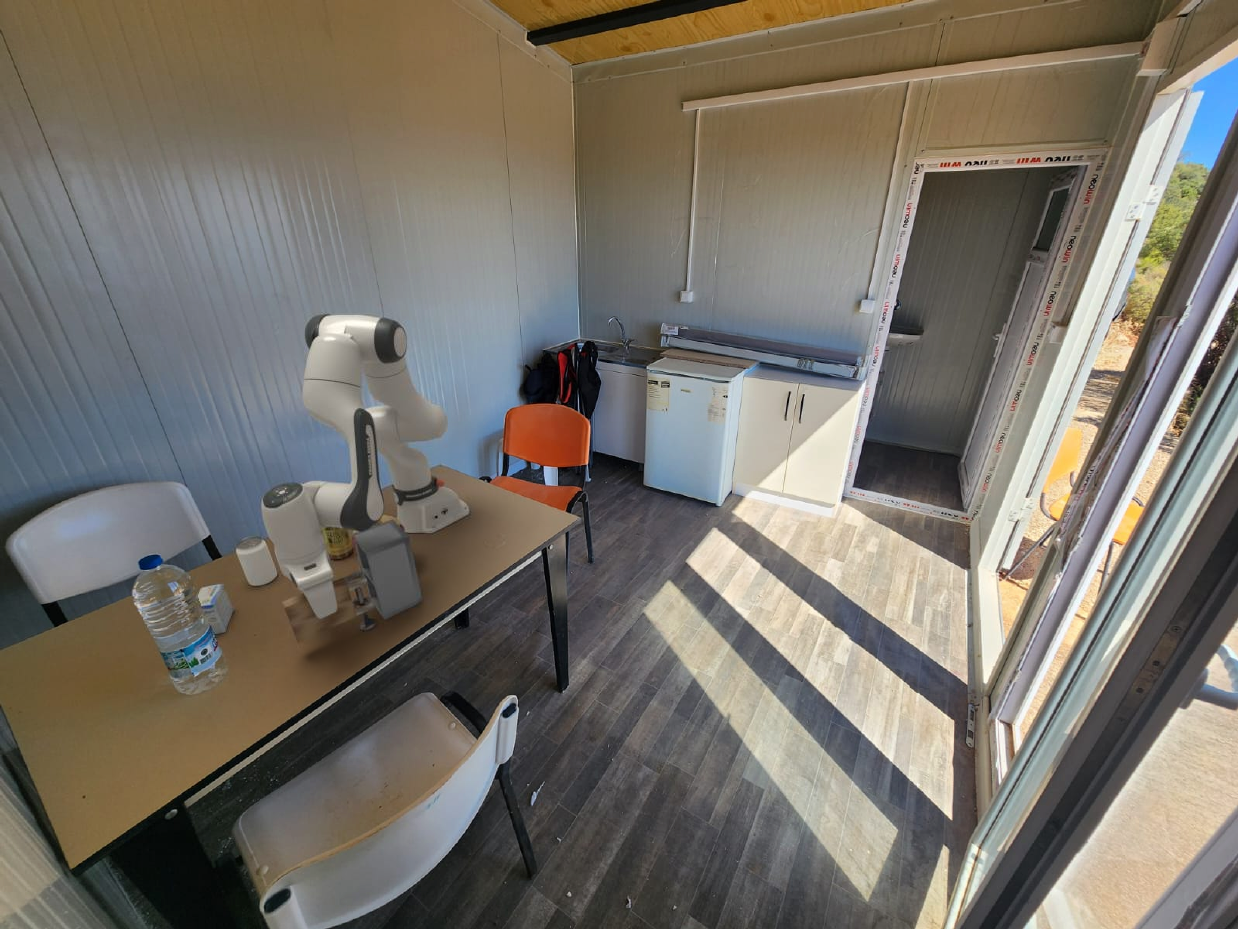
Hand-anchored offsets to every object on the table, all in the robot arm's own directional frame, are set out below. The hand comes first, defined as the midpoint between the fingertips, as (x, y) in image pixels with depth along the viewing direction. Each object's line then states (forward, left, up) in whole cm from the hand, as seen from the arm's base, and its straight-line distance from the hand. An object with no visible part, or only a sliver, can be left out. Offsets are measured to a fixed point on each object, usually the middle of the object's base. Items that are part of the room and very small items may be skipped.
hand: (321, 609), depth 108 cm
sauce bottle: (-12, -34, -10) cm, 37 cm away
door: (-2, 0, -5) cm, 5 cm away
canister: (-19, -18, -10) cm, 28 cm away
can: (+7, -36, -10) cm, 38 cm away
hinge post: (-8, 0, -10) cm, 13 cm away
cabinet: (-16, -4, -10) cm, 19 cm away
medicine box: (+18, -24, -10) cm, 32 cm away
